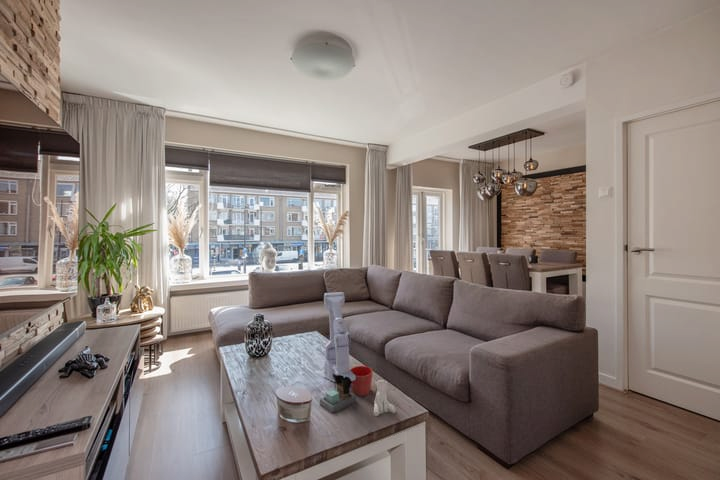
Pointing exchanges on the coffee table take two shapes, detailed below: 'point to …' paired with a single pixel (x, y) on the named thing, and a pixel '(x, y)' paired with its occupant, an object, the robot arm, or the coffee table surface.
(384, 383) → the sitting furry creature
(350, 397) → the tray
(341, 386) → the walnut block
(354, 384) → the flower pot
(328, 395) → the teal block
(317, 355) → the coffee table surface
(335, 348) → the robot arm
